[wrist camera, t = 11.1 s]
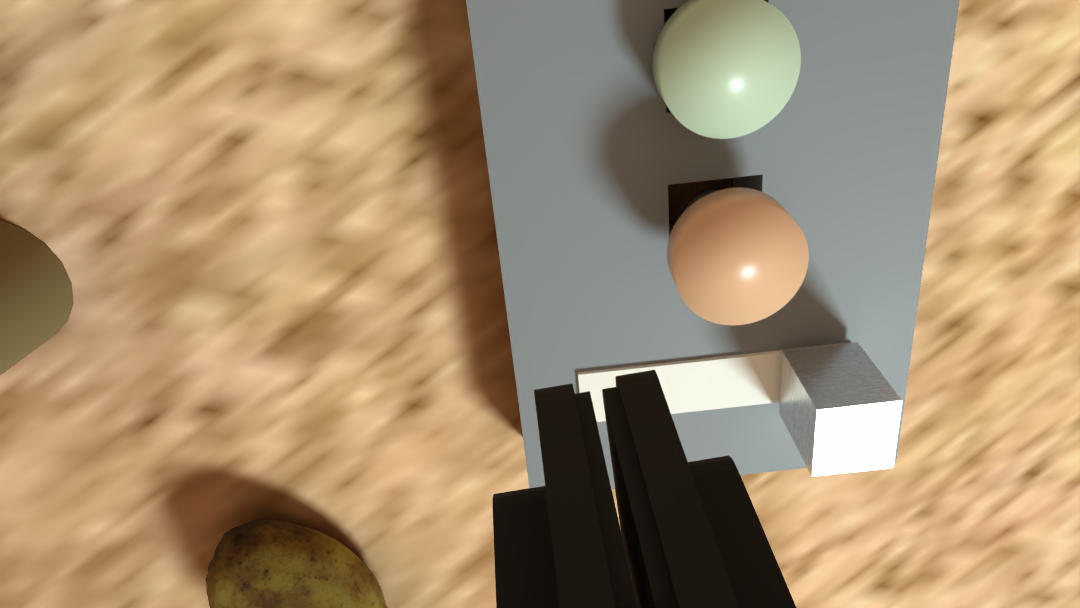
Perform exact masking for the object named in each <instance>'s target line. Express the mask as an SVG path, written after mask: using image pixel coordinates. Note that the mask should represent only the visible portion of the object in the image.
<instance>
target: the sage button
mask: <svg viewBox="0 0 1080 608" xmlns="http://www.w3.org/2000/svg"><path fill="white" fill-rule="evenodd" d="M800 66H801V52H800V45H799V41H798V37H797V34H796V32H795V30H794V28H793V26H792V24H791V23H790V21H789V20H788V19H787V17H786V16H785V15H784V14H783V13H782V12H781V11H780V10H779V9H777V8H776V7H775V6H773V5H771V4H770V3H768V2H766V1H764V0H689V1H687V2H685V3H684V4H683V5H682V6H680V7H679V8H678V9H677V10H676V11H675V12H674V13H673V14H672V15H671V16H670V18H669V19H668V20H667V22H666V23H665V25H664V26H663V28H662V30H661V32H660V34H659V36H658V39H657V41H656V45H655V48H654V54H653V66H652V68H653V77H654V81H655V85H656V88H657V90H658V93H659V94H660V96H661V98H662V100H663V101H664V103H665V104H666V105H667V107H668V108H669V110H670V111H671V112H672V114H673V115H674V116H675V118H676V119H677V120H678V121H679V122H680V123H681V124H682V125H684V126H685V127H686V128H688V129H689V130H691V131H693V132H695V133H697V134H699V135H702V136H705V137H709V138H716V139H730V138H736V137H740V136H744V135H747V134H749V133H752V132H754V131H756V130H758V129H760V128H761V127H763V126H764V125H766V124H767V123H768V122H770V121H771V120H772V119H773V118H774V117H775V116H777V115H778V114H779V112H780V111H781V110H782V109H783V108H784V106H785V105H786V103H787V102H788V100H789V99H790V97H791V95H792V93H793V91H794V89H795V86H796V84H797V81H798V77H799V73H800Z"/></svg>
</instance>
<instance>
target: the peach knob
mask: <svg viewBox="0 0 1080 608" xmlns="http://www.w3.org/2000/svg"><path fill="white" fill-rule="evenodd" d="M808 262H809V251H808V244H807V241H806V238H805V236H804V234H803V232H802V230H801V228H800V227H799V226H798V224H797V223H796V222H795V221H794V219H793V218H792V217H791V216H790V215H789V213H788V212H787V211H786V210H785V209H784V207H783V206H782V205H781V204H780V203H779V202H778V201H777V200H775V199H774V198H773V197H771V196H769V195H768V194H766V193H764V192H761V191H758V190H755V189H750V188H741V187H738V188H727V189H722V190H719V191H718V190H708V191H704V192H702V193H699V194H698V195H696V196H695V197H693V198H692V199H691V200H690V202H689V203H688V205H687V206H686V208H685V211H684V212H683V214H682V215H681V216H680V217H679V219H678V220H677V222H676V223H675V225H674V227H673V229H672V231H671V234H670V237H669V240H668V245H667V263H668V267H669V270H670V273H671V275H672V278H673V280H674V282H675V284H676V287H677V289H678V291H679V294H680V296H681V298H682V299H683V301H684V303H685V304H686V305H687V306H688V307H689V309H691V310H692V311H693V312H694V313H695V314H697V315H698V316H700V317H701V318H703V319H705V320H707V321H710V322H713V323H716V324H722V325H744V324H750V323H753V322H757V321H760V320H762V319H765V318H767V317H769V316H770V315H772V314H774V313H775V312H777V311H778V310H780V309H781V308H782V307H784V306H785V305H786V304H787V303H788V302H789V301H790V300H791V299H792V298H793V297H794V295H795V294H796V293H797V291H798V290H799V288H800V286H801V284H802V283H803V280H804V278H805V276H806V272H807V268H808Z"/></svg>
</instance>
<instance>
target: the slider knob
mask: <svg viewBox="0 0 1080 608" xmlns="http://www.w3.org/2000/svg"><path fill="white" fill-rule="evenodd" d="M901 406H902V400H901V398H900V397H899V396H898V394H897V393H896V392H895V390H894V389H893V388H892V386H891V385H890V384H889V383H888V381H887V380H886V379H885V377H884V376H883V375H882V373H881V372H880V371H879V369H878V368H877V367H876V365H875V364H874V363H873V361H872V360H871V359H870V358H869V356H868V355H867V354H866V352H865V351H864V350H863V348H862V347H861V346H860V344H859V343H858V342H855V343H846V344H837V345H828V346H819V347H810V348H800V349H791V350H782V359H781V379H780V399H779V414H780V416H781V418H782V420H783V422H784V424H785V426H786V428H787V429H788V431H789V433H790V435H791V437H792V439H793V441H794V443H795V445H796V447H797V449H798V451H799V453H800V454H801V456H802V458H803V460H804V462H805V464H806V466H807V468H808V470H809V472H810V474H811V476H821V475H830V474H839V473H848V472H858V471H867V470H876V469H885V468H893V465H894V458H895V450H896V443H897V435H898V428H899V421H900V413H901Z"/></svg>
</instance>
